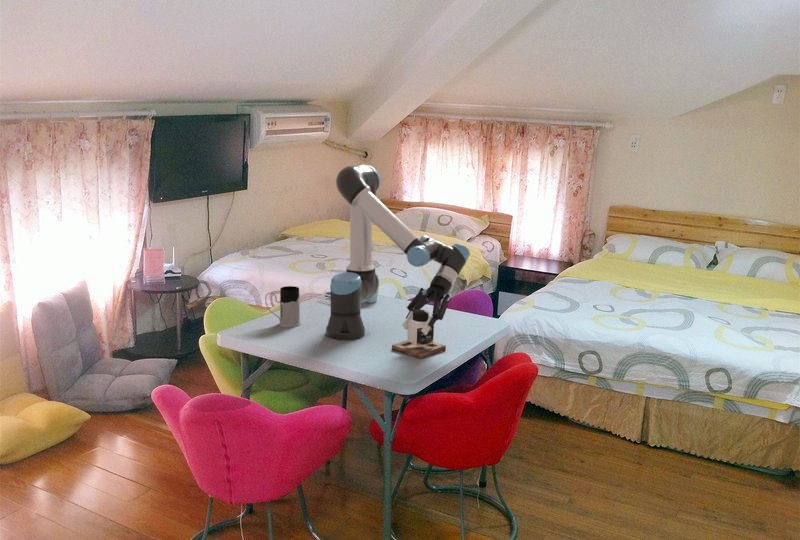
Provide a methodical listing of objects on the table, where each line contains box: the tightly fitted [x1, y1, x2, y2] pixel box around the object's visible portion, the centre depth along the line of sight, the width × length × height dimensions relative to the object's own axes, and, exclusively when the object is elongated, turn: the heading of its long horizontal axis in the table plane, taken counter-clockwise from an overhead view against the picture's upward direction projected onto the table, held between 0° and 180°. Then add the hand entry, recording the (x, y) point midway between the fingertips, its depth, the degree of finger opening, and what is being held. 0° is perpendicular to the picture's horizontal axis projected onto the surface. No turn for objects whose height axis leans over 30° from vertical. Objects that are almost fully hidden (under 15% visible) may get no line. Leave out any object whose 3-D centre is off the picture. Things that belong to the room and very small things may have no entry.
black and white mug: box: [264, 285, 302, 328], centre depth 282 cm, size 9×14×15 cm, turn 109°
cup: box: [364, 289, 379, 304], centre depth 321 cm, size 8×8×10 cm
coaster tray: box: [391, 340, 447, 360], centre depth 258 cm, size 14×14×2 cm
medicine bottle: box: [406, 309, 435, 346], centre depth 256 cm, size 7×7×12 cm
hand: (414, 330), depth 254 cm, fingers closed on medicine bottle, 8 cm apart
